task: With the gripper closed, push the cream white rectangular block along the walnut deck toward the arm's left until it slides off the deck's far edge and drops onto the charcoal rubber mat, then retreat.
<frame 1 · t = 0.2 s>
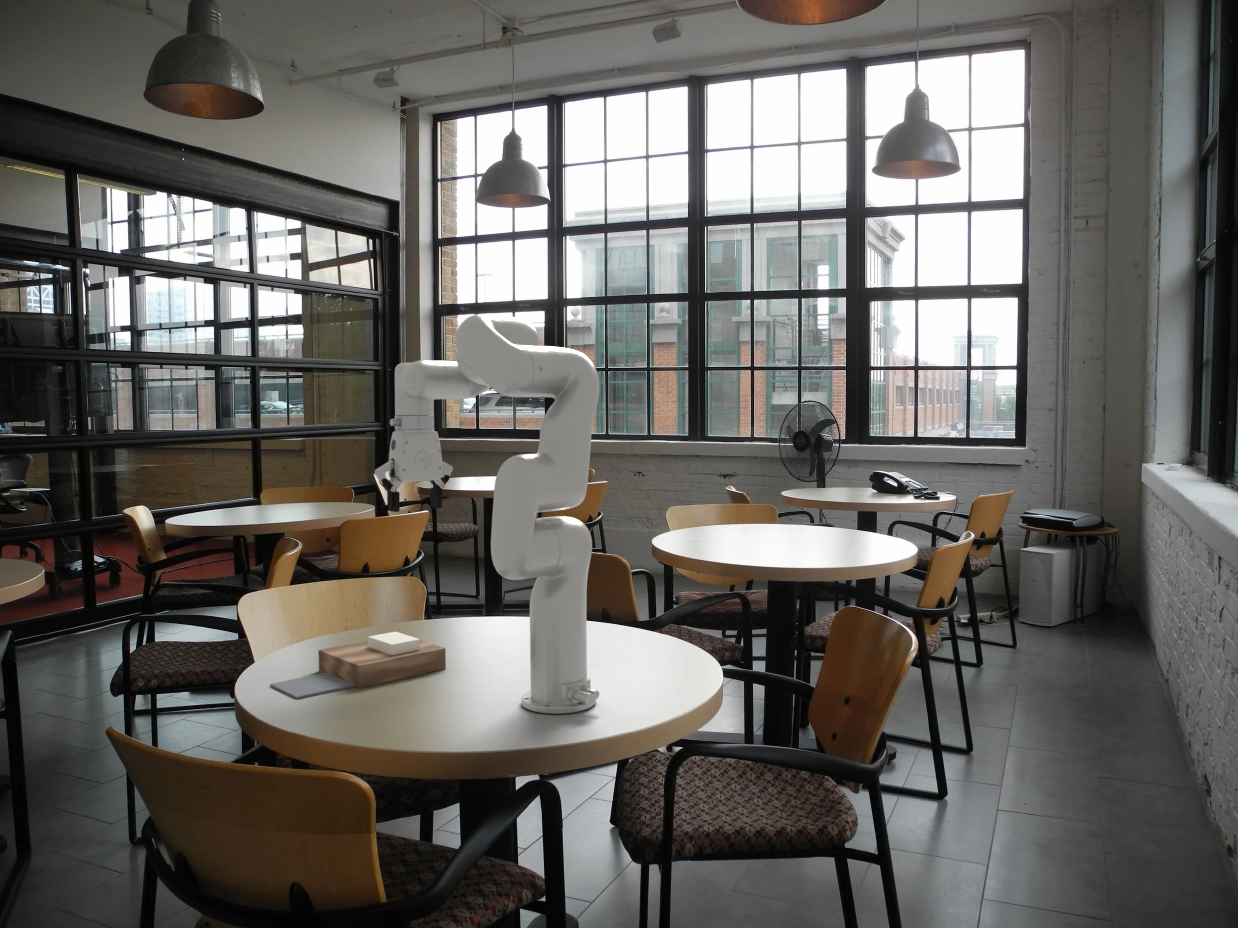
hand: (415, 509, 190), 30 cm above the table, fingers open, 9 cm apart
mat: (312, 686, 169), on the table
deck: (382, 669, 180), on the table
cream white rectangular block: (394, 648, 181), point 4 cm above the table, touching deck
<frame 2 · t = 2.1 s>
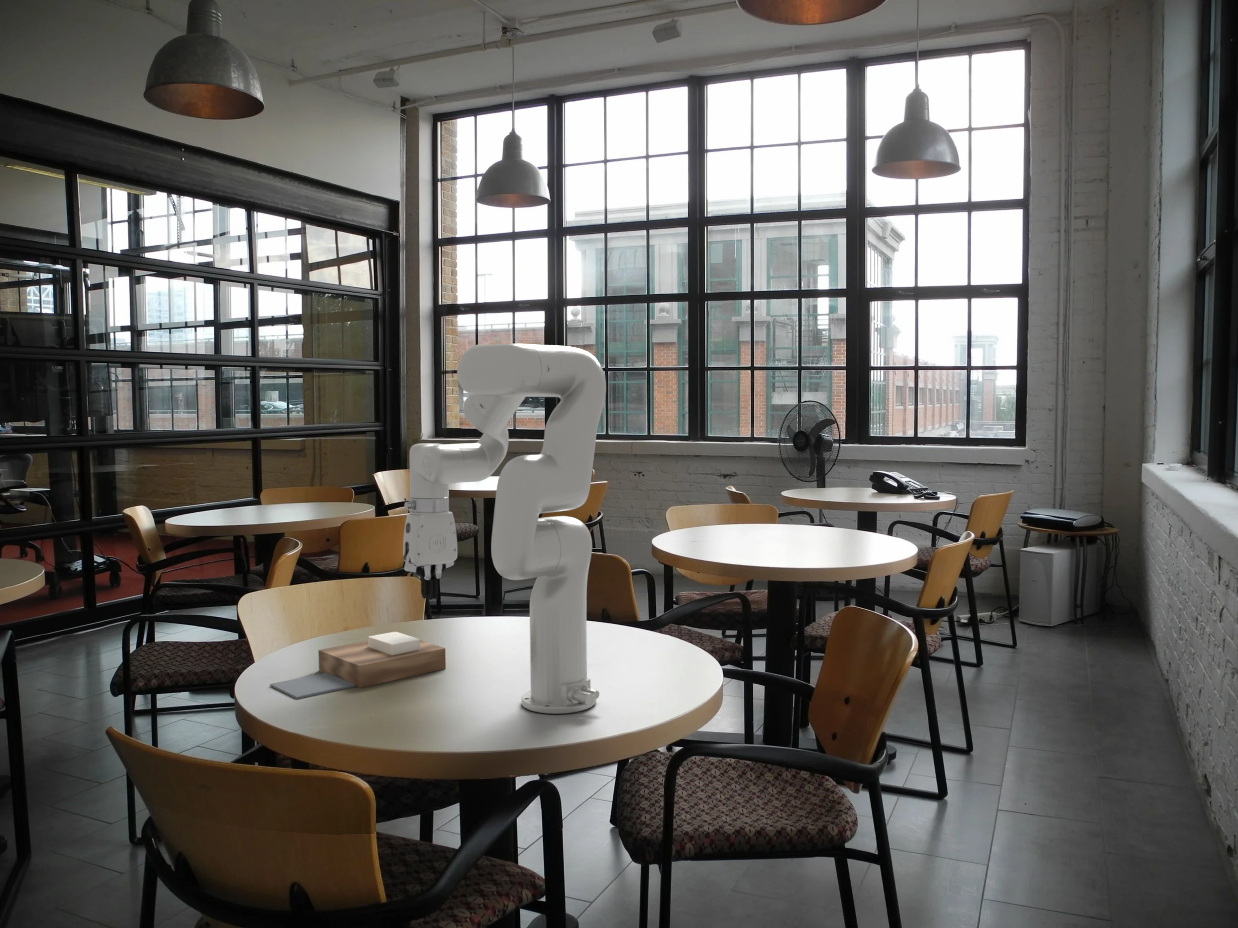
hand: (429, 597, 187), 12 cm above the table, fingers closed
nothing on the table moved.
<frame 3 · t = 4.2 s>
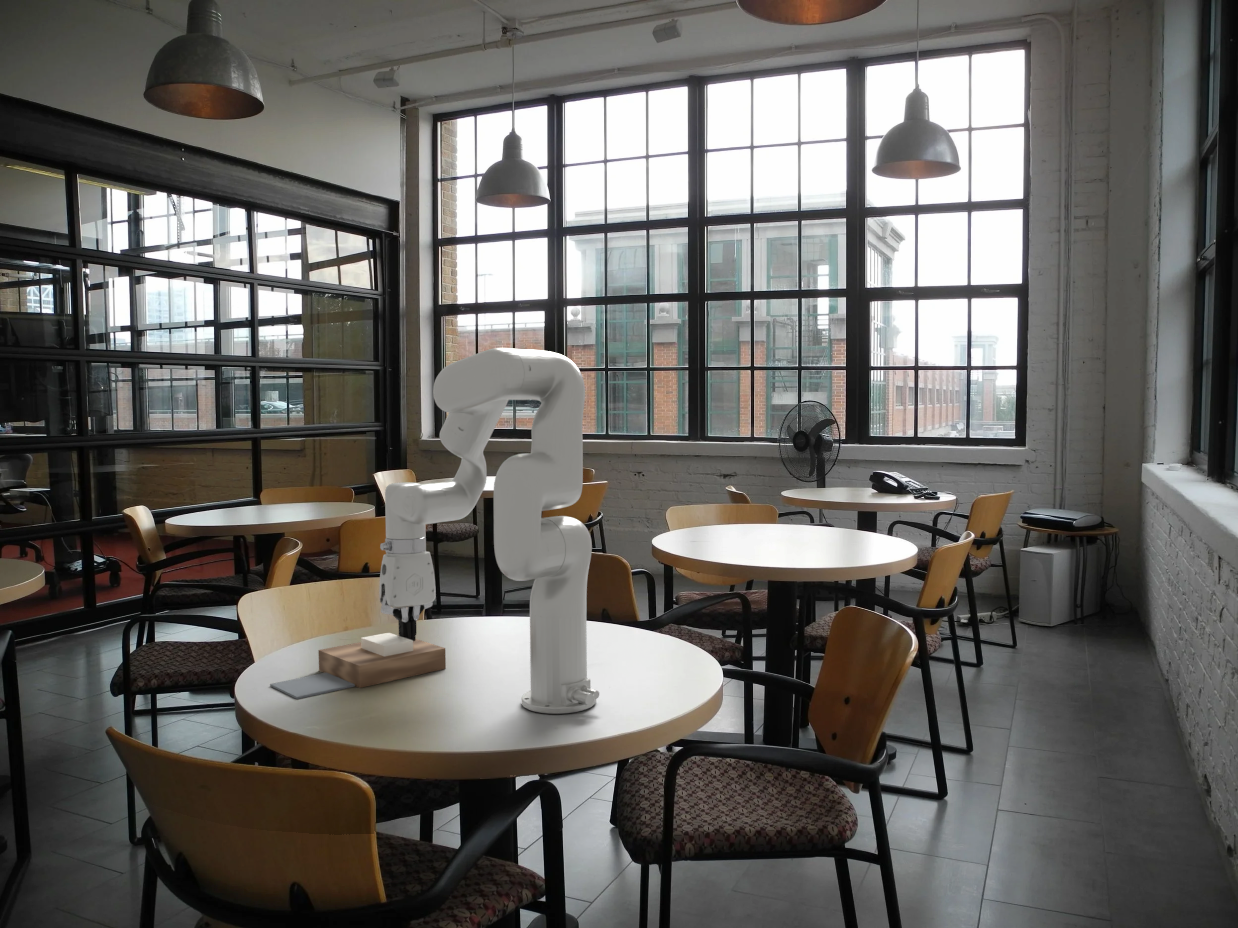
hand: (407, 640, 183), 5 cm above the table, fingers closed
cream white rectangular block: (386, 649, 180), point 4 cm above the table, touching deck, gripper
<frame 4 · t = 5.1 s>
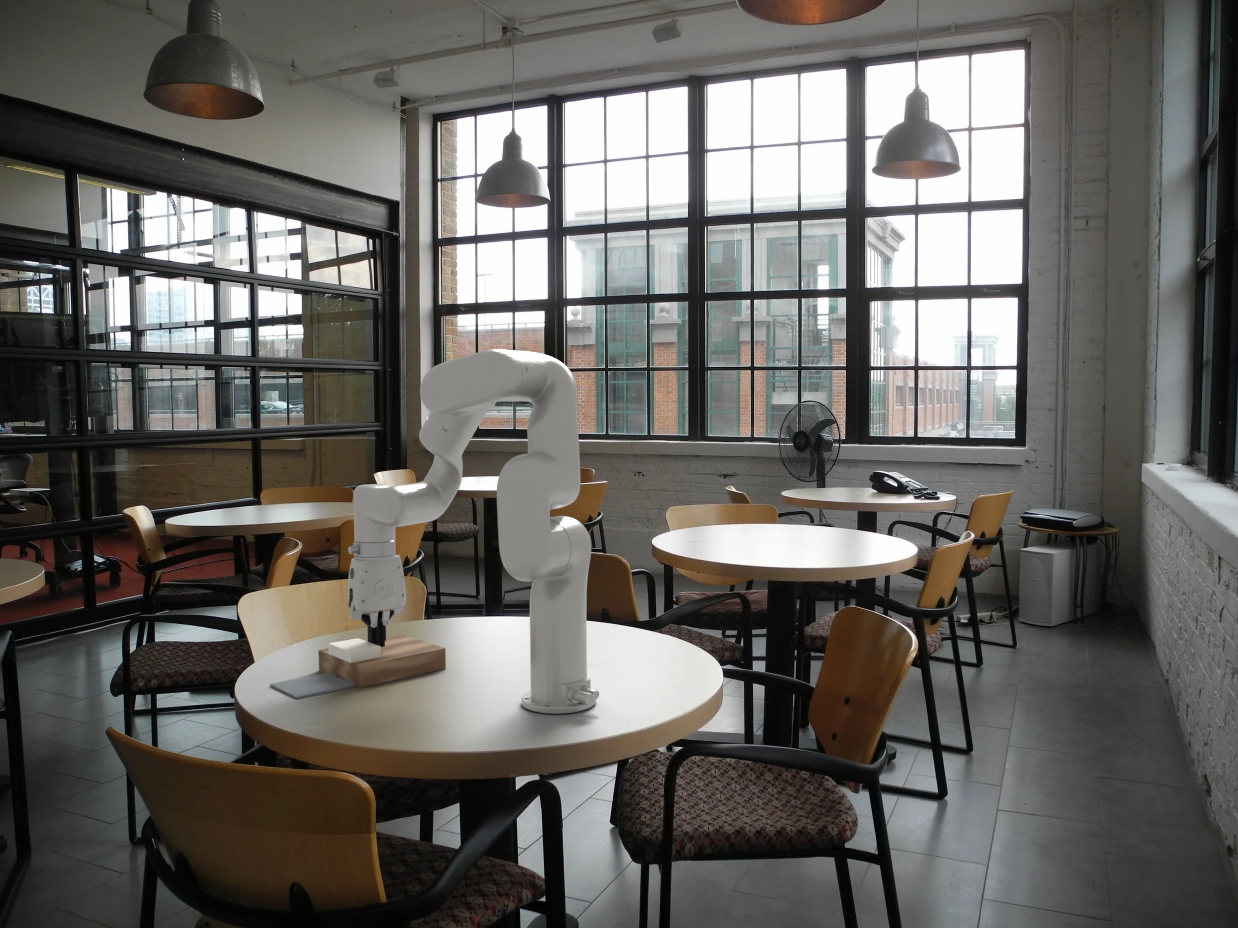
hand: (377, 645, 178), 5 cm above the table, fingers closed
cream white rectangular block: (354, 655, 175), point 4 cm above the table, touching deck
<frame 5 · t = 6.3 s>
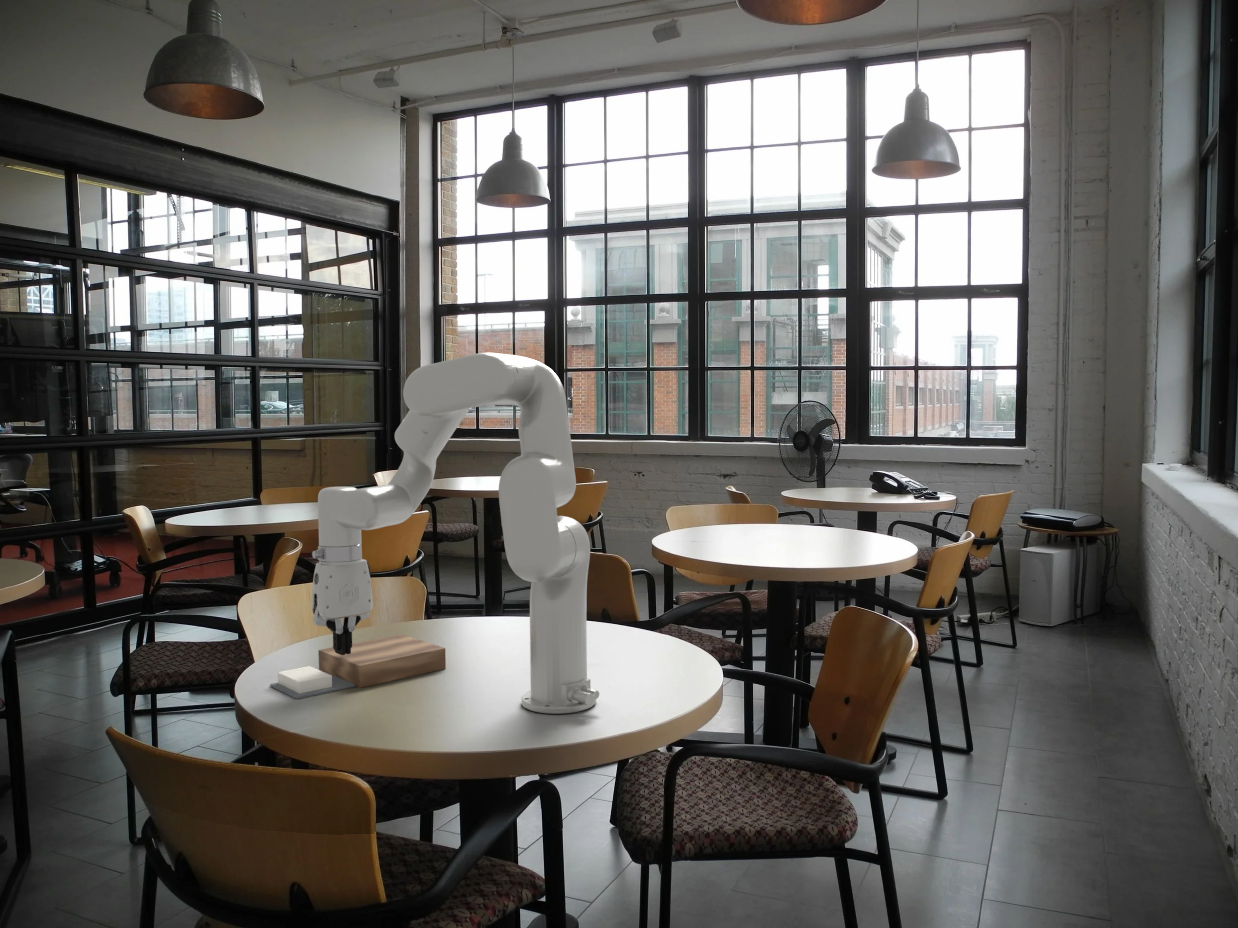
hand: (342, 652, 173), 5 cm above the table, fingers closed
cream white rectangular block: (304, 673, 169), point 2 cm above the table, tilted 180°, touching mat
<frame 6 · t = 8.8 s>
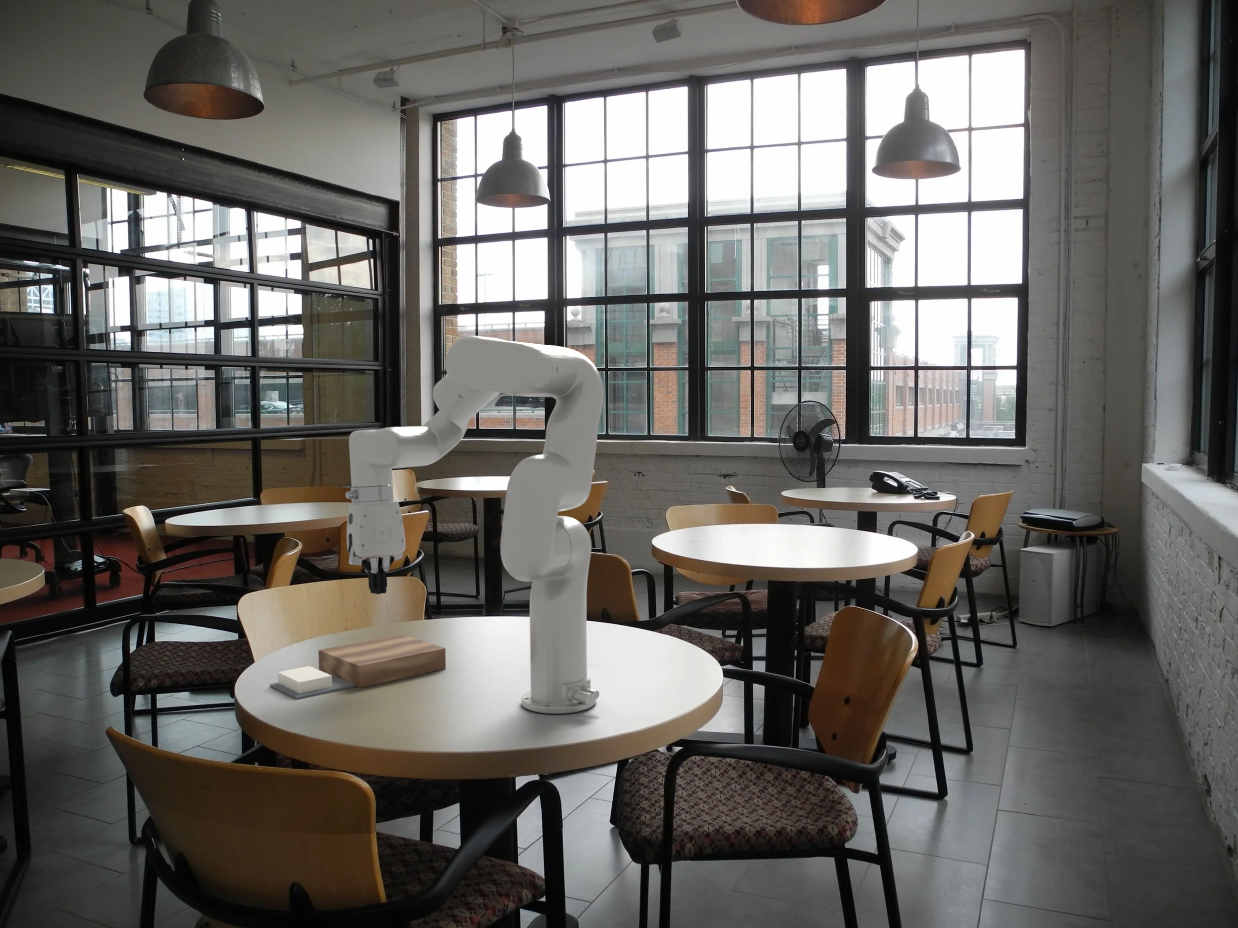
hand: (378, 592, 177), 15 cm above the table, fingers closed
nothing on the table moved.
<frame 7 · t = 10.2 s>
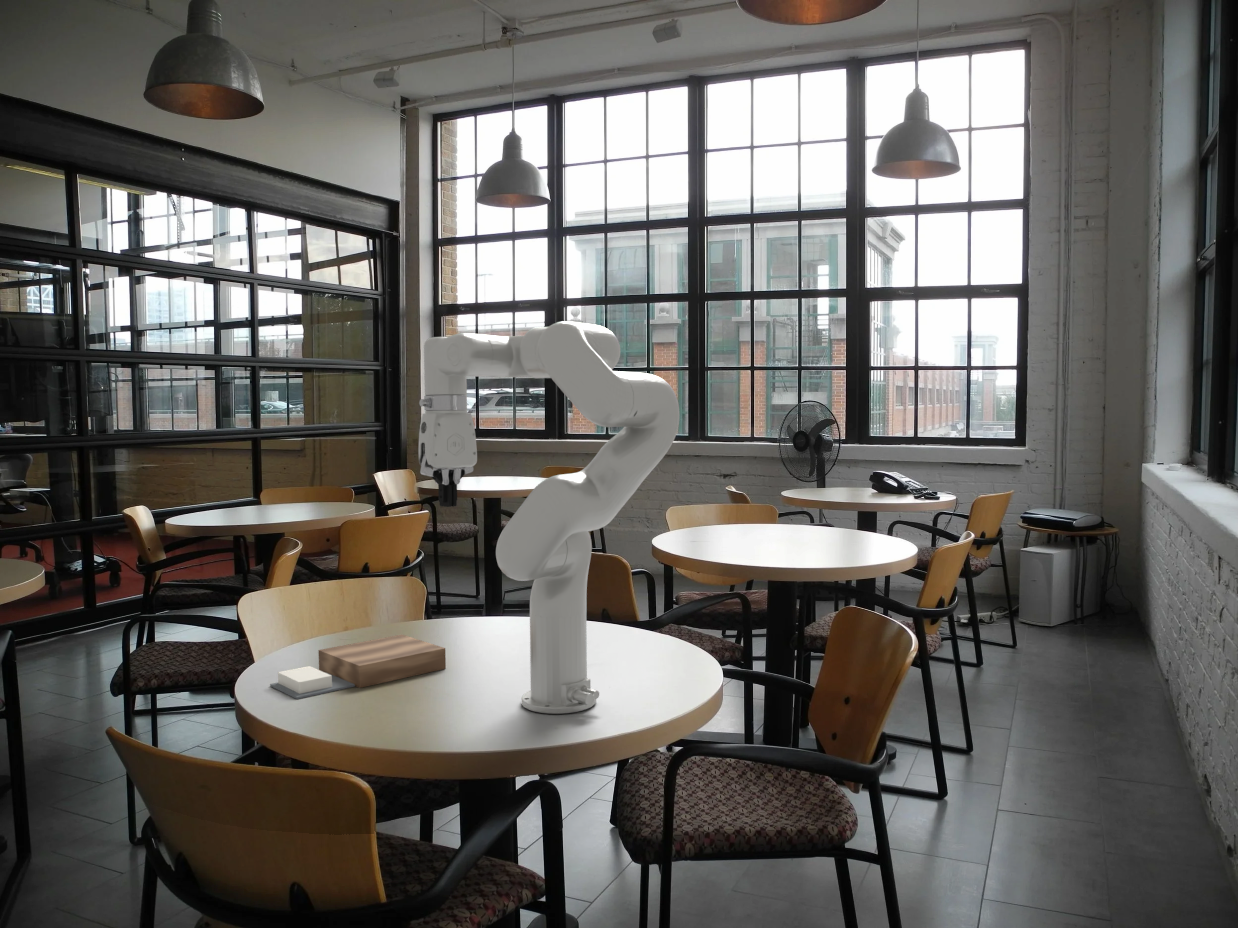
hand: (448, 505, 172), 32 cm above the table, fingers closed
nothing on the table moved.
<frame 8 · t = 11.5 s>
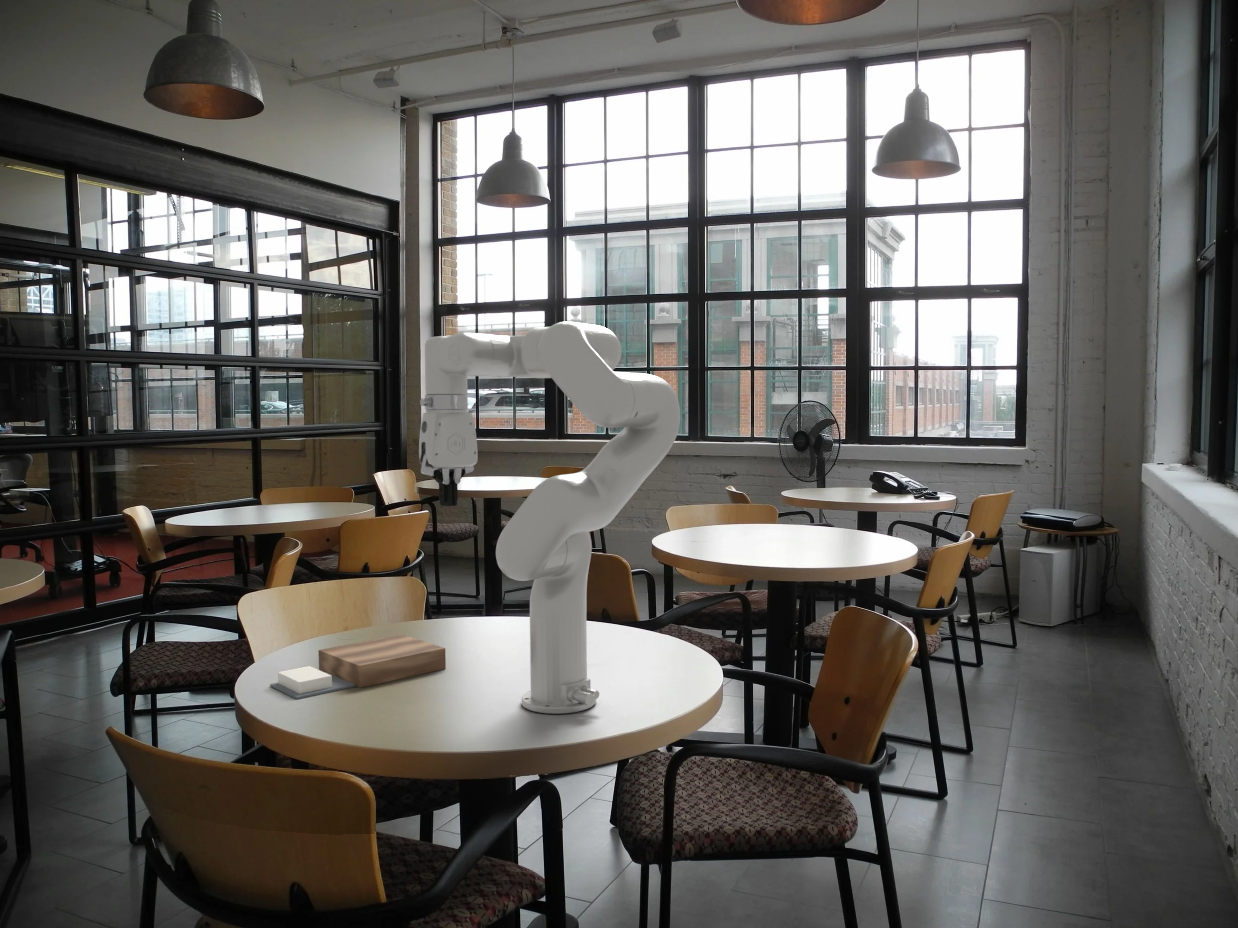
hand: (448, 505, 172), 32 cm above the table, fingers closed
nothing on the table moved.
at the end: cream white rectangular block point 2.4 cm above the table; cream white rectangular block inside the target area (1.2 cm from its centre), point 2.4 cm above the table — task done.
